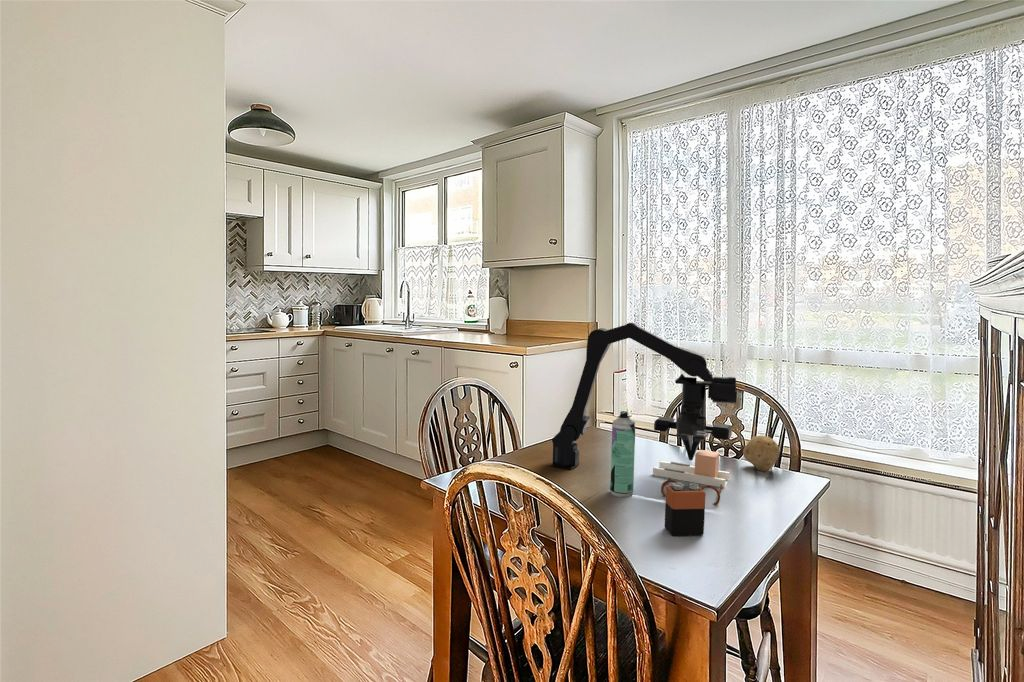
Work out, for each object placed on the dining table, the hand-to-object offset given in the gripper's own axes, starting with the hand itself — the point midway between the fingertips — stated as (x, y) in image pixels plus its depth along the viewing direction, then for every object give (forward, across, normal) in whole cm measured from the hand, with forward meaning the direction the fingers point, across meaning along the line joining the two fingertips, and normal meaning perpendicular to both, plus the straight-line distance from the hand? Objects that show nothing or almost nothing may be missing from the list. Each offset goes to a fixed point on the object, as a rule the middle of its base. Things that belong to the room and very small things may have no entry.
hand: (691, 459), depth 143 cm
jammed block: (+5, +4, 0) cm, 6 cm away
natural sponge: (+6, +15, +18) cm, 24 cm away
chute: (+5, 0, 0) cm, 5 cm away
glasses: (+6, +3, -11) cm, 13 cm away
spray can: (+5, -12, -20) cm, 24 cm away
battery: (+5, +6, -34) cm, 35 cm away
